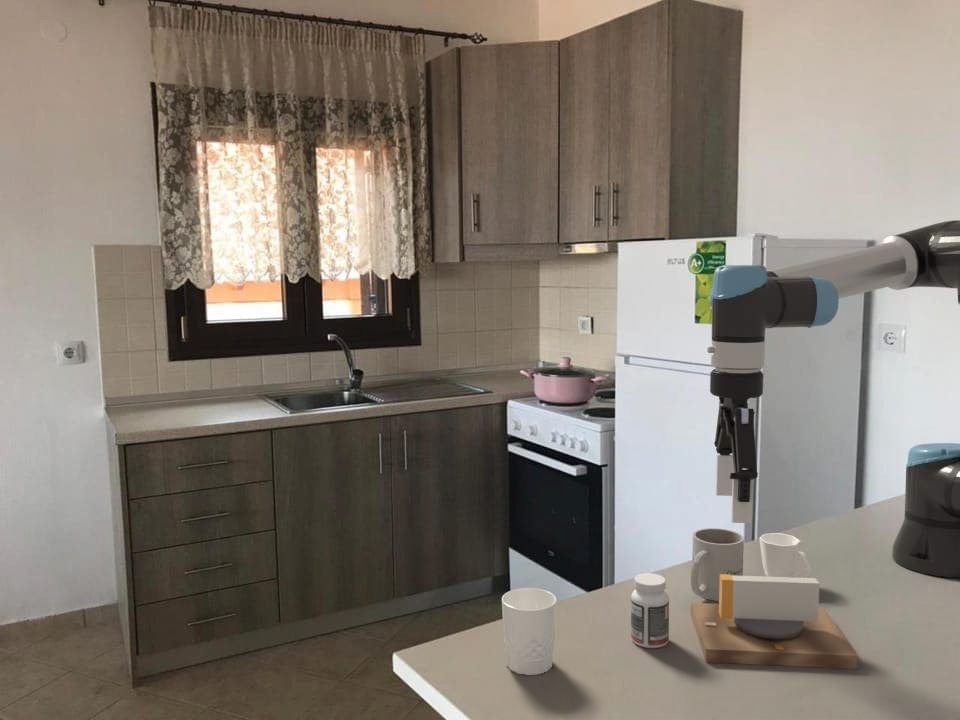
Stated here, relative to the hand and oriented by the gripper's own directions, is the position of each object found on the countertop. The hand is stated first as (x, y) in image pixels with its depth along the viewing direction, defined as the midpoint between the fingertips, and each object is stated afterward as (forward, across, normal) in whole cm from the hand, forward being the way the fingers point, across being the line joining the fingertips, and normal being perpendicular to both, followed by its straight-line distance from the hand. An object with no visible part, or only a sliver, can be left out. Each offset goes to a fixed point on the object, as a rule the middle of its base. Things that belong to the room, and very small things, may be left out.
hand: (732, 508), depth 122 cm
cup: (+21, -22, +14) cm, 33 cm away
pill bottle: (+21, +2, -12) cm, 24 cm away
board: (+21, 0, +6) cm, 21 cm away
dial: (+18, 0, +6) cm, 19 cm away
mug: (+21, -17, 0) cm, 27 cm away
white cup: (+21, +11, -30) cm, 38 cm away
